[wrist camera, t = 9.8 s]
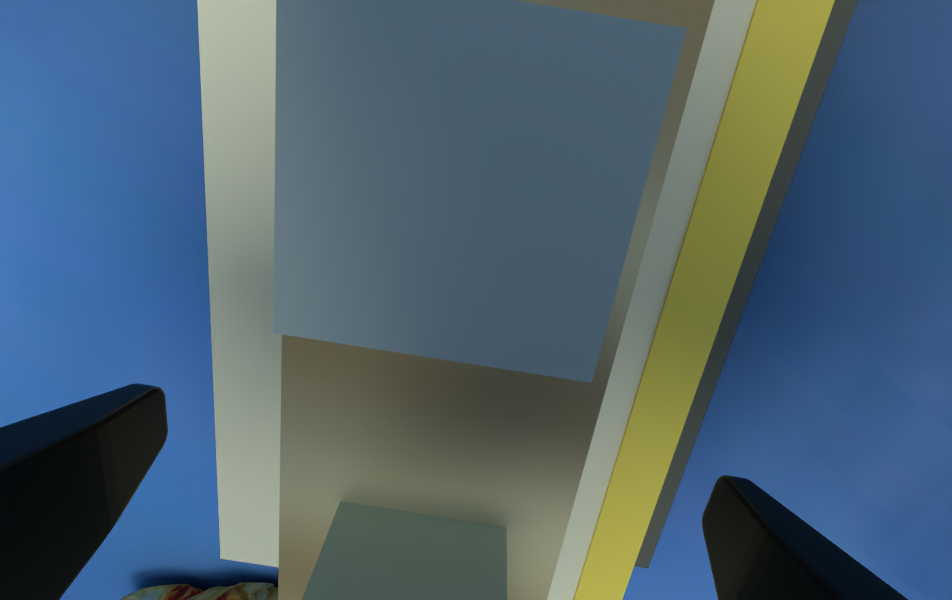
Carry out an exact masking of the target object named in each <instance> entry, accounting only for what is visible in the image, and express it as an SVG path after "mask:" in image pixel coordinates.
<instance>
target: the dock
mask: <svg viewBox="0 0 952 600" xmlns="http://www.w3.org/2000/svg"><path fill="white" fill-rule="evenodd" d="M197 1H198V25H199V50H200V74H201V98H202V122H203V146H204V171H205V195H206V219H207V243H208V268H209V292H210V316H211V340H212V364H213V389H214V413H215V437H216V461H217V485H218V510H219V534H220V558H221V559H226V560H233V561H239V562H246V563H253V564H259V565H266V566H273V567H279V500H280V428H281V356H282V334H276V333H273V325H274V206H275V88H276V0H197ZM857 1H858V0H715V2H714V5H713V9H712V12H711V16H710V19H709V23H708V27H707V30H706V34H705V37H704V41H703V44H702V48H701V52H700V55H699V59H698V62H697V66H696V69H695V73H694V77H693V80H692V84H691V87H690V91H689V94H688V98H687V102H686V105H685V109H684V112H683V116H682V119H681V123H680V127H679V130H678V134H677V137H676V141H675V144H674V148H673V152H672V155H671V159H670V162H669V166H668V169H667V173H666V177H665V180H664V184H663V187H662V191H661V194H660V198H659V201H658V205H657V209H656V212H655V216H654V219H653V223H652V226H651V230H650V234H649V237H648V241H647V244H646V248H645V251H644V255H643V259H642V262H641V266H640V269H639V273H638V276H637V280H636V284H635V287H634V291H633V294H632V298H631V301H630V305H629V309H628V312H627V316H626V319H625V323H624V326H623V330H622V334H621V337H620V341H619V344H618V348H617V351H616V355H615V359H614V362H613V366H612V369H611V373H610V376H609V380H608V384H607V387H606V391H605V394H604V398H603V401H602V405H601V408H600V412H599V416H598V419H597V423H596V426H595V430H594V433H593V437H592V441H591V444H590V448H589V451H588V455H587V458H586V462H585V466H584V469H583V473H582V476H581V480H580V483H579V487H578V491H577V494H576V498H575V501H574V505H573V508H572V512H571V516H570V519H569V523H568V526H567V530H566V533H565V537H564V541H563V544H562V548H561V551H560V555H559V558H558V562H557V566H556V569H555V573H554V576H553V580H552V583H551V587H550V591H549V594H548V598H547V600H622V599H623V596H624V593H625V590H626V587H627V585H628V582H629V579H630V576H631V573H632V571H633V568H634V566H637V567H644V568H648V567H649V565H650V562H651V559H652V557H653V554H654V551H655V548H656V546H657V543H658V540H659V538H660V535H661V532H662V530H663V527H664V524H665V521H666V519H667V516H668V513H669V511H670V508H671V505H672V502H673V500H674V497H675V494H676V492H677V489H678V486H679V483H680V481H681V478H682V475H683V473H684V470H685V467H686V465H687V462H688V459H689V456H690V454H691V451H692V448H693V446H694V443H695V440H696V437H697V435H698V432H699V429H700V427H701V424H702V421H703V418H704V416H705V413H706V410H707V408H708V405H709V402H710V400H711V397H712V394H713V391H714V389H715V386H716V383H717V381H718V378H719V375H720V372H721V370H722V367H723V364H724V362H725V359H726V356H727V353H728V351H729V348H730V345H731V343H732V340H733V337H734V335H735V332H736V329H737V326H738V324H739V321H740V318H741V316H742V313H743V310H744V307H745V305H746V302H747V299H748V297H749V294H750V291H751V288H752V286H753V283H754V280H755V278H756V275H757V272H758V270H759V267H760V264H761V261H762V259H763V256H764V253H765V251H766V248H767V245H768V242H769V240H770V237H771V234H772V232H773V229H774V226H775V223H776V221H777V218H778V215H779V213H780V210H781V207H782V205H783V202H784V199H785V196H786V194H787V191H788V188H789V186H790V183H791V180H792V177H793V175H794V172H795V169H796V167H797V164H798V161H799V158H800V156H801V153H802V150H803V148H804V145H805V142H806V140H807V137H808V134H809V131H810V129H811V126H812V123H813V121H814V118H815V115H816V112H817V110H818V107H819V104H820V102H821V99H822V96H823V93H824V91H825V88H826V85H827V83H828V80H829V77H830V75H831V72H832V69H833V66H834V64H835V61H836V58H837V56H838V53H839V50H840V47H841V45H842V42H843V39H844V37H845V34H846V31H847V28H848V26H849V23H850V20H851V18H852V15H853V12H854V10H855V7H856V4H857Z"/></svg>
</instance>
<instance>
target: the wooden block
mask: <svg viewBox="0 0 952 600" xmlns="http://www.w3.org/2000/svg"><path fill="white" fill-rule="evenodd" d="M518 1H524V2H530V3H536V4H542V5H548V6H554V7H560V8H566V9H572V10H578V11H585V12H591V13H597V14H603V15H609V16H615V17H621V18H627V19H633V20H639V21H645V22H651V23H657V24H663V25H669V26H675V27H682V28H687V31H686V34H685V38H684V42H683V46H682V49H681V53H680V57H679V60H678V64H677V68H676V72H675V75H674V79H673V83H672V86H671V90H670V94H669V98H668V101H667V105H666V109H665V113H664V116H663V120H662V124H661V127H660V131H659V135H658V139H657V142H656V146H655V150H654V154H653V157H652V161H651V165H650V168H649V172H648V176H647V180H646V183H645V187H644V191H643V194H642V198H641V202H640V206H639V209H638V213H637V217H636V221H635V224H634V228H633V232H632V235H631V239H630V243H629V247H628V250H627V254H626V258H625V262H624V265H623V269H622V273H621V276H620V280H619V284H618V288H617V291H616V295H615V299H614V302H613V306H612V310H611V314H610V317H609V321H608V325H607V329H606V332H605V336H604V340H603V343H602V347H601V351H600V355H599V358H598V362H597V366H596V370H595V373H594V377H593V381H592V383H590V382H584V381H577V380H571V379H564V378H558V377H552V376H545V375H539V374H532V373H526V372H520V371H513V370H507V369H500V368H494V367H488V366H481V365H475V364H468V363H462V362H456V361H449V360H443V359H436V358H430V357H424V356H417V355H411V354H404V353H398V352H392V351H385V350H379V349H372V348H366V347H360V346H353V345H347V344H340V343H334V342H328V341H321V340H315V339H308V338H302V337H296V336H289V335H283V334H282V356H281V428H280V500H279V572H278V600H302V598H303V595H304V593H305V590H306V587H307V585H308V582H309V580H310V577H311V575H312V572H313V570H314V567H315V564H316V562H317V559H318V557H319V554H320V552H321V549H322V546H323V544H324V541H325V539H326V536H327V534H328V531H329V529H330V526H331V523H332V521H333V518H334V516H335V513H336V511H337V508H338V505H339V503H340V501H343V502H349V503H355V504H362V505H368V506H375V507H381V508H388V509H394V510H400V511H407V512H413V513H420V514H426V515H432V516H439V517H445V518H452V519H458V520H465V521H471V522H477V523H484V524H490V525H497V526H503V527H507V600H547V598H548V594H549V591H550V587H551V583H552V580H553V576H554V573H555V569H556V566H557V562H558V558H559V555H560V551H561V548H562V544H563V541H564V537H565V533H566V530H567V526H568V523H569V519H570V516H571V512H572V508H573V505H574V501H575V498H576V494H577V491H578V487H579V483H580V480H581V476H582V473H583V469H584V466H585V462H586V458H587V455H588V451H589V448H590V444H591V441H592V437H593V433H594V430H595V426H596V423H597V419H598V416H599V412H600V408H601V405H602V401H603V398H604V394H605V391H606V387H607V384H608V380H609V376H610V373H611V369H612V366H613V362H614V359H615V355H616V351H617V348H618V344H619V341H620V337H621V334H622V330H623V326H624V323H625V319H626V316H627V312H628V309H629V305H630V301H631V298H632V294H633V291H634V287H635V284H636V280H637V276H638V273H639V269H640V266H641V262H642V259H643V255H644V251H645V248H646V244H647V241H648V237H649V234H650V230H651V226H652V223H653V219H654V216H655V212H656V209H657V205H658V201H659V198H660V194H661V191H662V187H663V184H664V180H665V177H666V173H667V169H668V166H669V162H670V159H671V155H672V152H673V148H674V144H675V141H676V137H677V134H678V130H679V127H680V123H681V119H682V116H683V112H684V109H685V105H686V102H687V98H688V94H689V91H690V87H691V84H692V80H693V77H694V73H695V69H696V66H697V62H698V59H699V55H700V52H701V48H702V44H703V41H704V37H705V34H706V30H707V27H708V23H709V19H710V16H711V12H712V9H713V5H714V2H715V0H518Z"/></svg>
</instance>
